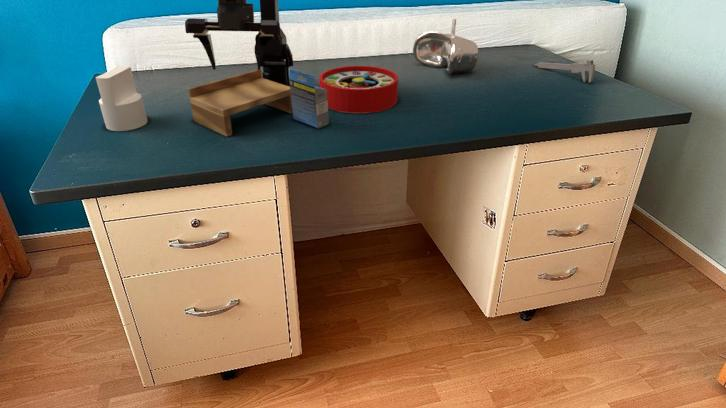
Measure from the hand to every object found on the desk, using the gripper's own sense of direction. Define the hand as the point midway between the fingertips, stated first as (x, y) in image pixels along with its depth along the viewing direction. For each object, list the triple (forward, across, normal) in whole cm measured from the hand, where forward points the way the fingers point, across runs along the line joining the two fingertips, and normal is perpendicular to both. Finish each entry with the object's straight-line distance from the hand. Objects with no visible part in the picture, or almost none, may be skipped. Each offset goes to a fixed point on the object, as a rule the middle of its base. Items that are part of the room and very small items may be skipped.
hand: (236, 69), depth 107 cm
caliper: (+4, +92, +27) cm, 96 cm away
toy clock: (+9, +29, +17) cm, 35 cm away
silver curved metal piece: (+4, +59, +38) cm, 70 cm away
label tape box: (+12, +16, +4) cm, 20 cm away
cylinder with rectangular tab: (+13, -26, +10) cm, 31 cm away
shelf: (+12, +1, +9) cm, 15 cm away
